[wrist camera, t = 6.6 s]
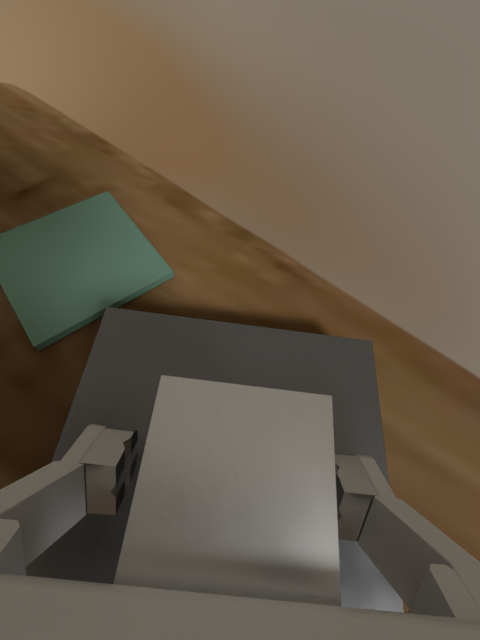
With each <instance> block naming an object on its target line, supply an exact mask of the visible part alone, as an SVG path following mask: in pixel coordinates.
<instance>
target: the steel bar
mask: <svg viewBox="0 0 480 640" xmlns="http://www.w3.org/2000/svg"><path fill="white" fill-rule="evenodd" d="M114 584H116V585H126V586H137V587H147V588H157V589H167V590H177V591H187V592H197V593H207V594H218V595H228V596H238V597H248V598H258V599H268V600H278V601H289V602H299V603H309V604H320V605H330V606H341V589H340V566H339V543H338V521H337V498H336V475H335V453H334V430H333V407H332V396H329V395H321V394H313V393H305V392H296V391H288V390H280V389H272V388H264V387H255V386H247V385H239V384H231V383H223V382H214V381H206V380H198V379H190V378H182V377H173V376H165V375H161V378H160V383H159V387H158V392H157V396H156V400H155V405H154V409H153V413H152V418H151V422H150V426H149V431H148V435H147V440H146V444H145V448H144V453H143V457H142V461H141V466H140V470H139V475H138V479H137V483H136V488H135V492H134V496H133V501H132V505H131V509H130V514H129V518H128V523H127V527H126V531H125V536H124V540H123V544H122V549H121V553H120V558H119V562H118V566H117V571H116V575H115V579H114Z"/></svg>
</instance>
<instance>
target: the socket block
mask: <svg viewBox="0 0 480 640" xmlns="http://www.w3.org/2000/svg"><path fill="white" fill-rule="evenodd" d="M161 375H165V376H173V377H182V378H190V379H198V380H206V381H214V382H223V383H231V384H239V385H247V386H255V387H264V388H272V389H280V390H288V391H296V392H305V393H313V394H321V395H329V396H332V407H333V430H334V453H340V454H349V455H363V456H371V457H372V458H373V459H374V460H375V462H376V463H377V465H378V467H379V469H380V470H381V472H382V474H383V476H384V477H385V479H386V481H387V483H388V484H389V482H388V473H387V465H386V456H385V447H384V439H383V430H382V422H381V413H380V404H379V396H378V387H377V379H376V370H375V361H374V353H373V344H372V341H368V340H360V339H353V338H345V337H337V336H329V335H322V334H314V333H306V332H298V331H290V330H283V329H275V328H267V327H259V326H252V325H244V324H236V323H228V322H220V321H213V320H205V319H197V318H189V317H182V316H174V315H166V314H158V313H151V312H143V311H135V310H127V309H119V308H112V307H106V310H105V313H104V316H103V318H102V321H101V324H100V327H99V330H98V332H97V335H96V338H95V341H94V344H93V346H92V349H91V352H90V355H89V358H88V360H87V363H86V366H85V369H84V372H83V374H82V377H81V380H80V383H79V386H78V388H77V391H76V394H75V397H74V400H73V403H72V405H71V408H70V411H69V414H68V417H67V419H66V422H65V425H64V428H63V431H62V433H61V436H60V439H59V442H58V445H57V447H56V450H55V453H54V456H53V459H52V461H51V463H52V462H54V461H61V459H62V458H63V457H64V456H65V454H66V453H67V452H68V450H69V449H70V448H71V447H72V445H73V444H74V443H75V441H76V440H77V439H78V438H79V436H80V435H81V434H82V432H83V431H84V430H85V429H86V427H87V426H89V425H91V424H95V425H102V426H111V427H118V428H125V429H133V430H137V432H138V441H137V443H136V445H135V449H136V450H137V462H136V467H135V471H134V474H133V477H132V479H131V482H130V483H129V484H128V485H126V486H125V495H124V498H123V500H122V502H121V504H120V507H119V509H118V511H117V513H116V515H105V514H91V513H86V515H85V516H84V517H83V518H82V519H81V520H80V521H78V522H77V523H76V524H75V525H74V526H73V527H72V528H70V529H69V530H68V531H67V532H66V533H65V534H63V535H62V536H61V537H60V538H59V539H58V540H56V541H55V542H54V543H53V544H52V545H51V546H50V547H48V548H47V549H46V550H45V551H44V552H43V553H41V554H40V555H39V556H38V557H37V558H36V559H34V560H33V561H32V562H31V563H30V564H29V565H28V566H26V567H25V568H26V576H35V577H45V578H55V579H65V580H76V581H86V582H96V583H106V584H114V579H115V575H116V571H117V566H118V562H119V558H120V553H121V549H122V544H123V540H124V536H125V531H126V527H127V523H128V518H129V514H130V509H131V505H132V501H133V496H134V492H135V488H136V483H137V479H138V475H139V470H140V466H141V461H142V457H143V453H144V448H145V444H146V440H147V435H148V431H149V426H150V422H151V418H152V413H153V409H154V405H155V400H156V396H157V392H158V387H159V383H160V378H161ZM338 543H339V566H340V589H341V607H351V608H361V609H372V610H382V611H392V612H402V613H404V611H403V602H402V599H401V597H400V596H399V595H398V594H397V592H396V591H395V590H394V589H393V587H392V586H391V585H390V584H389V582H388V581H387V580H386V579H385V577H384V576H383V575H382V574H381V572H380V571H379V570H378V569H377V567H376V566H375V565H374V563H373V562H372V561H371V560H370V558H369V557H368V556H367V555H366V553H365V552H364V551H363V550H362V548H361V547H360V546H359V545H358V542H355V541H348V540H341V539H338Z"/></svg>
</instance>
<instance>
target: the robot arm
mask: <svg viewBox="0 0 480 640" xmlns="http://www.w3.org/2000/svg"><path fill="white" fill-rule="evenodd" d="M137 441H138V432H137V430H133V429H125V428H118V427H111V426H102V425H95V424H91V425H89V426H87V427H86V429H85V430H84V431H83V432H82V434H81V435H80V436H79V438H78V439H77V440H76V441H75V443H74V444H73V445H72V447H71V448H70V449H69V450H68V452H67V453H66V454H65V456H64V457H63V458H62V459H61V461H54V462H52V463H50V464H48V465H46V466H44V467H42V468H40V469H38V470H37V471H35V472H33V473H31V474H29V475H27V476H25V477H23V478H21V479H19V480H18V481H16V482H14V483H12V484H10V485H8V486H6V487H4V488H2V489H0V640H480V562H479V561H478V560H476V559H475V558H474V557H473V556H471V555H470V554H469V553H468V552H466V551H465V550H464V549H463V548H461V547H460V546H459V545H458V544H456V543H455V542H454V541H453V540H451V539H450V538H449V537H448V536H446V535H445V534H444V533H443V532H442V531H440V530H439V529H438V528H437V527H435V526H434V525H433V524H432V523H430V522H429V521H428V520H427V519H425V518H424V517H423V516H422V515H420V514H419V513H418V512H417V511H415V510H414V509H413V508H412V507H410V506H409V505H408V504H407V503H405V502H404V501H403V500H402V499H397V498H396V497H395V495H394V493H393V491H392V490H391V488H390V486H389V484H388V483H387V481H386V479H385V477H384V476H383V474H382V472H381V470H380V469H379V467H378V465H377V463H376V462H375V460H374V459H373V458H372V457H371V456H363V455H349V454H340V453H335V475H336V498H337V521H338V539H341V540H348V541H355V542H358V545H359V546H360V547H361V548H362V550H363V551H364V552H365V553H366V555H367V556H368V557H369V558H370V560H371V561H372V562H373V563H374V565H375V566H376V567H377V569H378V570H379V571H380V572H381V574H382V575H383V576H384V577H385V579H386V580H387V581H388V582H389V584H390V585H391V586H392V587H393V589H394V590H395V591H396V592H397V594H398V595H399V596H400V597H401V599H402V600H403V601H404V602H405V604H406V605H407V606H408V608H409V611H408V613H402V612H392V611H382V610H372V609H361V608H351V607H341V606H330V605H320V604H309V603H299V602H289V601H278V600H268V599H258V598H248V597H238V596H228V595H218V594H207V593H197V592H187V591H177V590H167V589H157V588H147V587H137V586H126V585H116V584H106V583H96V582H86V581H76V580H65V579H55V578H45V577H35V576H26V568H25V567H26V566H28V565H29V564H30V563H31V562H32V561H33V560H34V559H36V558H37V557H38V556H39V555H40V554H41V553H43V552H44V551H45V550H46V549H47V548H48V547H50V546H51V545H52V544H53V543H54V542H55V541H56V540H58V539H59V538H60V537H61V536H62V535H63V534H65V533H66V532H67V531H68V530H69V529H70V528H72V527H73V526H74V525H75V524H76V523H77V522H78V521H80V520H81V519H82V518H83V517H84V516H85V515H86V513H91V514H105V515H116V513H117V511H118V509H119V507H120V504H121V502H122V500H123V498H124V495H125V486H126V485H128V484H129V483H130V482H131V479H132V477H133V474H134V471H135V467H136V462H137V450H136V449H135V445H136V443H137Z"/></svg>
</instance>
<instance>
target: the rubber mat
mask: <svg viewBox="0 0 480 640" xmlns="http://www.w3.org/2000/svg"><path fill="white" fill-rule="evenodd" d="M173 277H174V274H173V271H172V269H171V268H170V267H169V266H168V265H167V263H166V262H165V261H164V260H163V258H162V257H161V256H160V255H159V253H158V252H157V251H156V250H155V248H154V247H153V246H152V245H151V244H150V242H149V241H148V240H147V239H146V237H145V236H144V235H143V234H142V232H141V231H140V230H139V229H138V228H137V226H136V225H135V224H134V223H133V221H132V220H131V219H130V218H129V216H128V215H127V214H126V213H125V211H124V210H123V209H122V208H121V207H120V205H119V204H118V203H117V202H116V200H115V199H114V198H113V197H112V195H111V194H110V193H109V192H108V191H106V192H104V193H101V194H99V195H96V196H94V197H91V198H89V199H86V200H84V201H81V202H79V203H76V204H74V205H71V206H69V207H66V208H63V209H61V210H58V211H56V212H53V213H51V214H48V215H46V216H43V217H41V218H38V219H36V220H33V221H31V222H28V223H26V224H23V225H21V226H18V227H16V228H13V229H11V230H8V231H6V232H3V233H1V234H0V285H1V287H2V289H3V291H4V292H5V294H6V296H7V298H8V300H9V302H10V304H11V306H12V307H13V309H14V311H15V313H16V315H17V317H18V319H19V321H20V322H21V324H22V326H23V328H24V330H25V332H26V334H27V336H28V338H29V339H30V341H31V343H32V345H33V347H34V348H36V349H37V350H39V351H40V350H42V349H43V348H45V347H47V346H49V345H51V344H53V343H54V342H56V341H58V340H60V339H62V338H63V337H65V336H67V335H69V334H71V333H73V332H74V331H76V330H78V329H80V328H82V327H84V326H85V325H87V324H89V323H91V322H93V321H94V320H96V319H98V318H100V317H102V316H104V313H105V310H106V307H112V308H118V307H120V306H122V305H124V304H125V303H127V302H129V301H131V300H133V299H134V298H136V297H138V296H140V295H142V294H144V293H145V292H147V291H149V290H151V289H153V288H154V287H156V286H158V285H160V284H162V283H164V282H165V281H167V280H169V279H171V278H173Z"/></svg>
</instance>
